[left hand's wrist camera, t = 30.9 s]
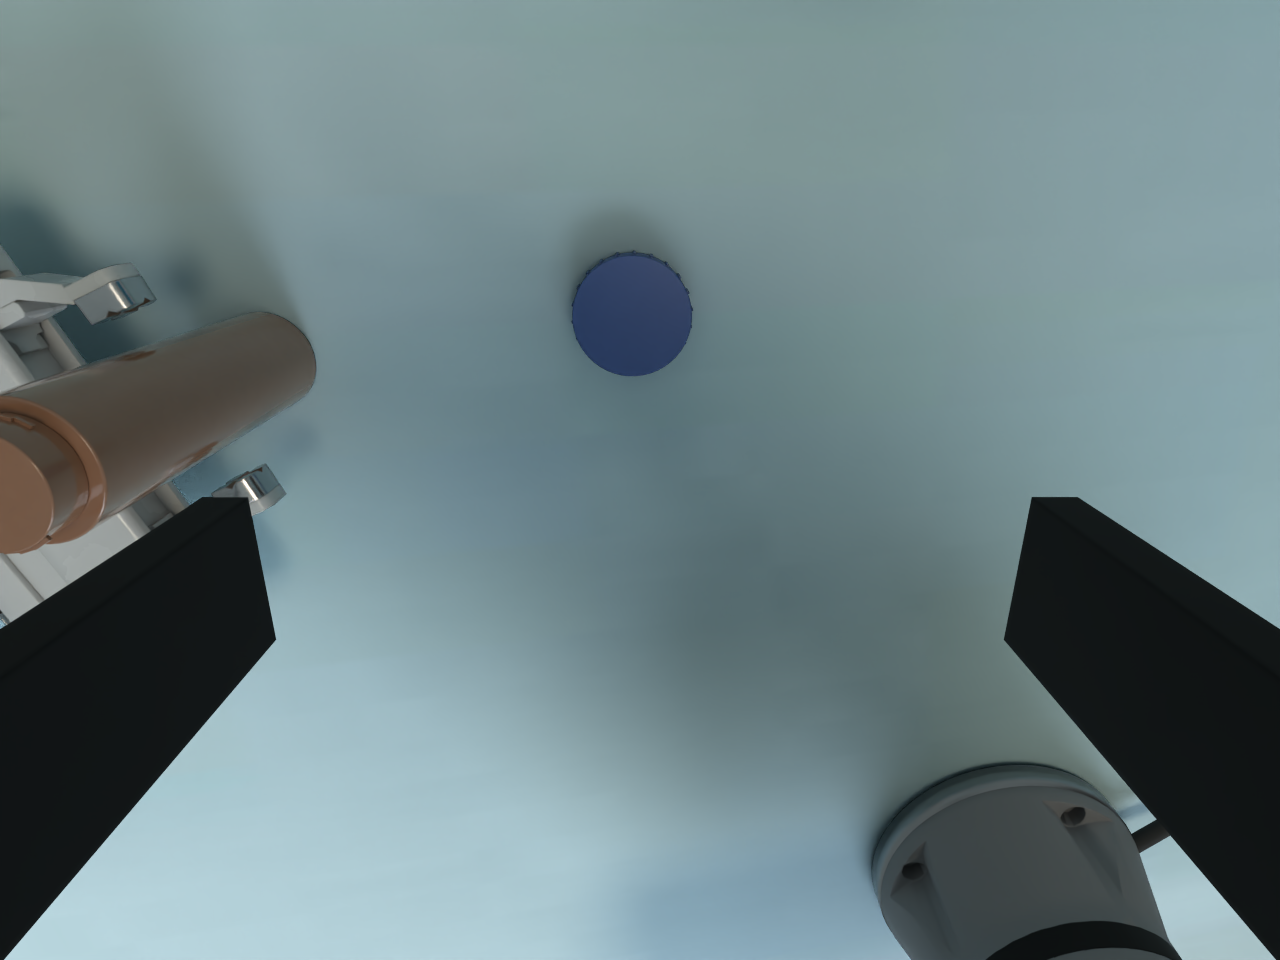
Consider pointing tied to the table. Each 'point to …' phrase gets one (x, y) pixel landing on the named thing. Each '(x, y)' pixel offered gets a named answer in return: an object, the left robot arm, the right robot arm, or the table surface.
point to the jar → (138, 423)
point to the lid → (632, 314)
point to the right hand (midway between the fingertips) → (206, 388)
